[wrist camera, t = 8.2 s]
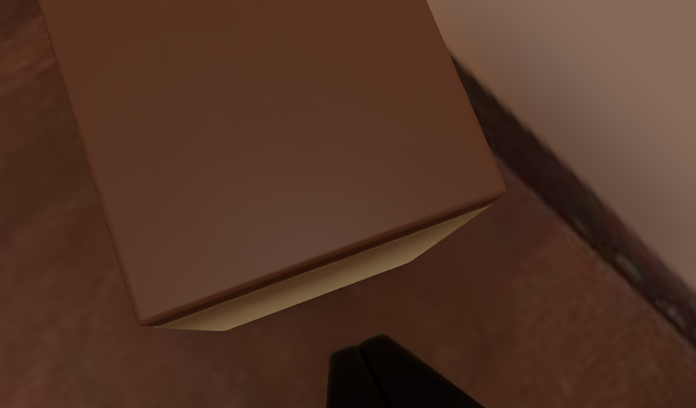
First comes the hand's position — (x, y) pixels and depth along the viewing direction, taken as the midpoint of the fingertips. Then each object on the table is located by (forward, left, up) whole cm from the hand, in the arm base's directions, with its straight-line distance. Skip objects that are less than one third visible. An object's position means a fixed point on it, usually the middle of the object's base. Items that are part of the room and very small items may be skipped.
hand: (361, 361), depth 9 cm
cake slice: (+5, -1, -6) cm, 8 cm away
